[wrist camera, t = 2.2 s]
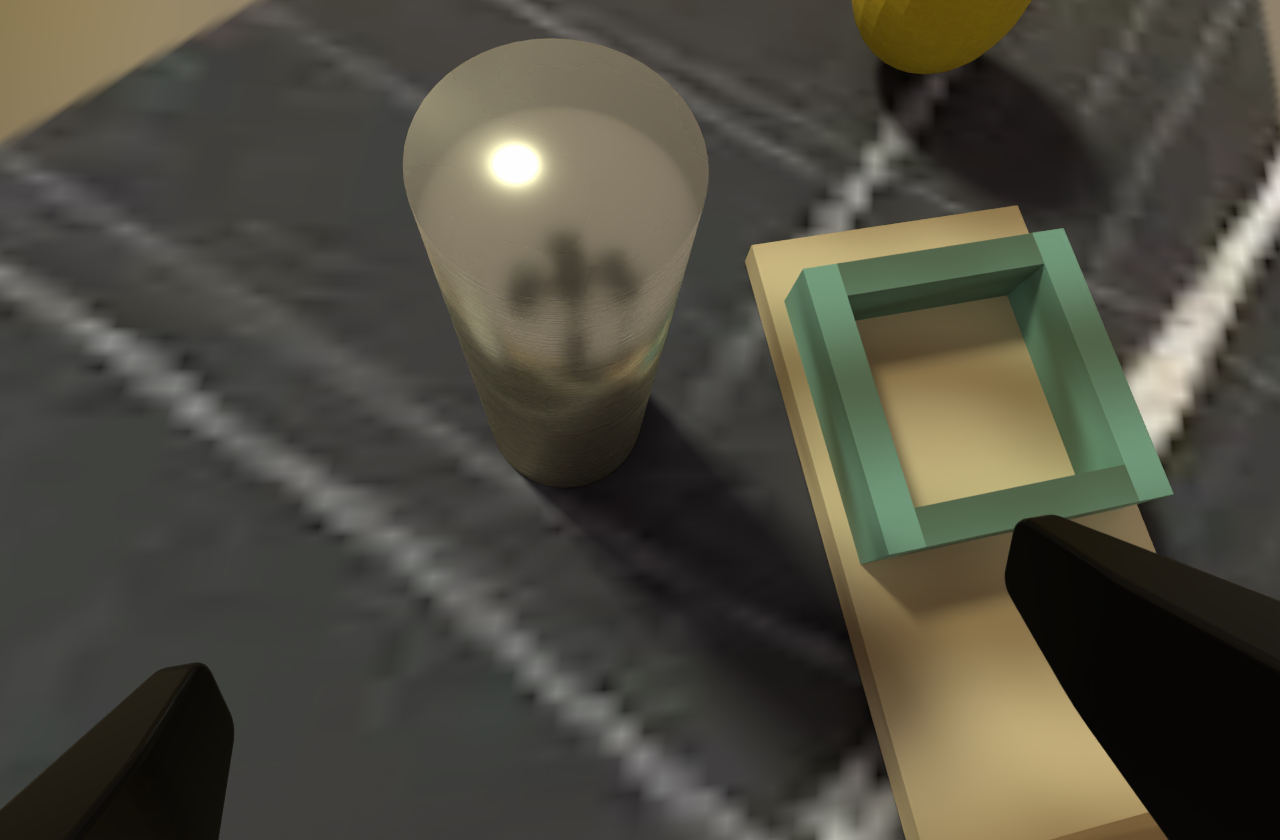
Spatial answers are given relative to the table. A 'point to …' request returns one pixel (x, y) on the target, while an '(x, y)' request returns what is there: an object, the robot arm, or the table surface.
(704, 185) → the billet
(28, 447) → the table surface
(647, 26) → the table surface
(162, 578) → the table surface
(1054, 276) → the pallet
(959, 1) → the lemon
